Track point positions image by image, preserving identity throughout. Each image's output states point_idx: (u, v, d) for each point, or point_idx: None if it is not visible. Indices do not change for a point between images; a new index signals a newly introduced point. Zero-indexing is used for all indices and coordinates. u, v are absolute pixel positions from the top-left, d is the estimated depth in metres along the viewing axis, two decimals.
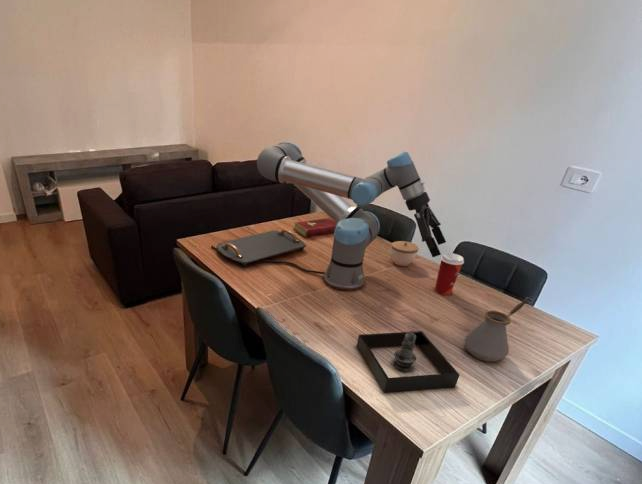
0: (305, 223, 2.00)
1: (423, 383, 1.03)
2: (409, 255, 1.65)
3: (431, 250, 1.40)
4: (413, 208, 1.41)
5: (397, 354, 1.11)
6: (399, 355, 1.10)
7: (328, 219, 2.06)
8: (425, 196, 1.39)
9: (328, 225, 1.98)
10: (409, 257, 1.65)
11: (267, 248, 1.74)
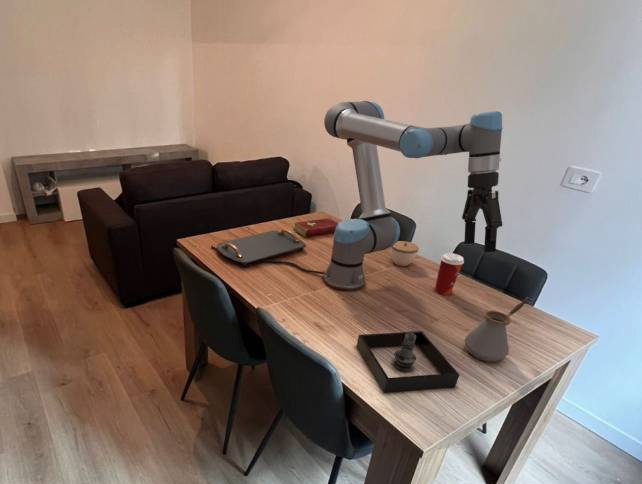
0: (305, 223, 2.00)
1: (423, 383, 1.03)
2: (409, 255, 1.65)
3: (488, 243, 1.12)
4: (483, 185, 1.11)
5: (397, 354, 1.11)
6: (399, 355, 1.10)
7: (328, 219, 2.06)
8: (498, 176, 1.12)
9: (328, 225, 1.98)
10: (409, 257, 1.65)
11: (267, 248, 1.74)
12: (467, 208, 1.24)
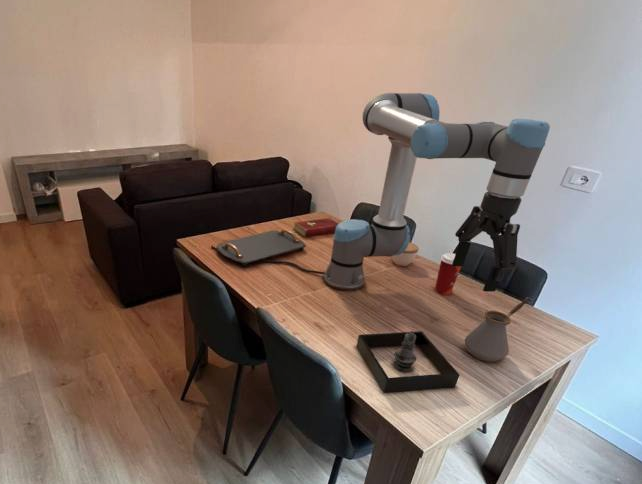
0: (305, 223, 2.00)
1: (423, 383, 1.03)
2: (409, 255, 1.65)
3: (490, 282, 0.95)
4: (503, 213, 0.91)
5: (397, 354, 1.11)
6: (399, 355, 1.10)
7: (328, 219, 2.06)
8: None
9: (328, 225, 1.98)
10: (409, 257, 1.65)
11: (267, 248, 1.74)
12: (466, 226, 1.04)
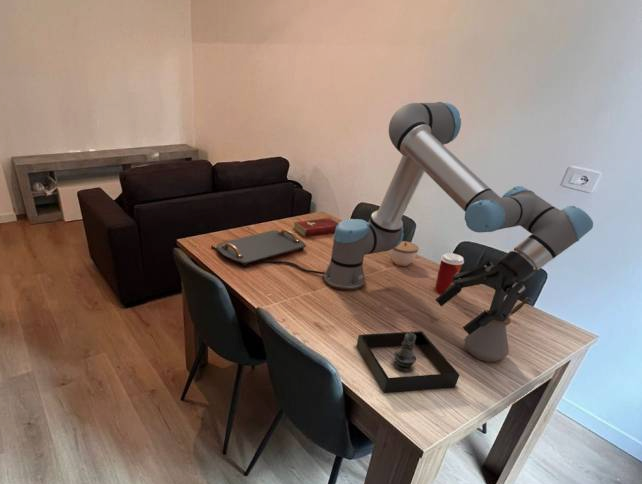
0: (304, 223, 2.00)
1: (423, 383, 1.03)
2: (409, 255, 1.65)
3: (474, 323, 0.99)
4: (519, 273, 0.97)
5: (397, 354, 1.11)
6: (399, 355, 1.10)
7: (328, 219, 2.06)
8: None
9: (327, 225, 1.98)
10: (409, 257, 1.65)
11: (267, 248, 1.74)
12: (468, 274, 1.09)
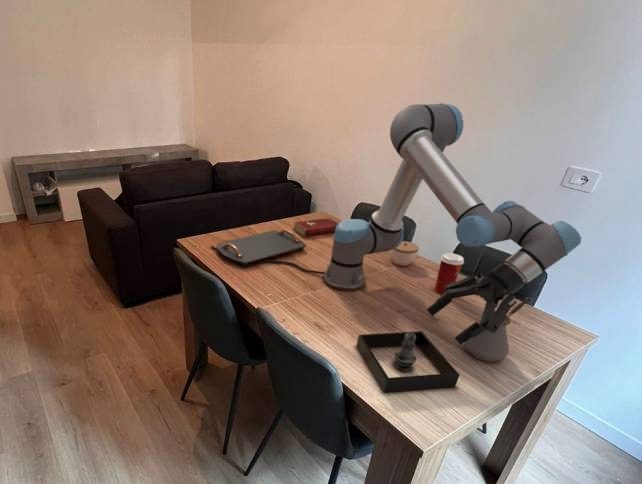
0: (304, 223, 2.00)
1: (423, 383, 1.03)
2: (409, 255, 1.65)
3: (465, 334, 1.00)
4: (509, 285, 0.99)
5: (397, 354, 1.11)
6: (399, 355, 1.10)
7: (328, 219, 2.06)
8: None
9: (327, 225, 1.98)
10: (409, 257, 1.65)
11: (267, 248, 1.74)
12: (459, 284, 1.10)
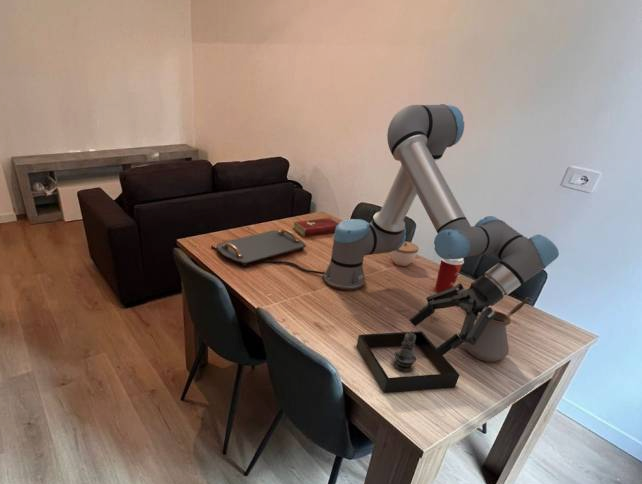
0: (304, 223, 2.00)
1: (423, 383, 1.03)
2: (409, 255, 1.65)
3: (445, 346, 1.01)
4: (489, 297, 1.00)
5: (397, 354, 1.11)
6: (399, 355, 1.10)
7: (328, 219, 2.06)
8: None
9: (327, 225, 1.98)
10: (409, 257, 1.65)
11: (267, 248, 1.74)
12: (441, 296, 1.12)
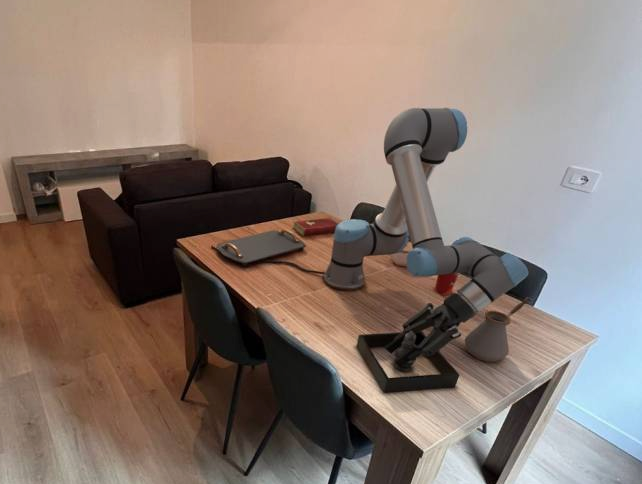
0: (304, 222, 2.01)
1: (423, 383, 1.03)
2: None
3: (404, 357, 1.07)
4: (460, 315, 1.02)
5: (397, 354, 1.11)
6: (399, 355, 1.10)
7: (328, 219, 2.06)
8: None
9: (327, 225, 1.98)
10: None
11: (267, 248, 1.74)
12: (416, 319, 1.12)
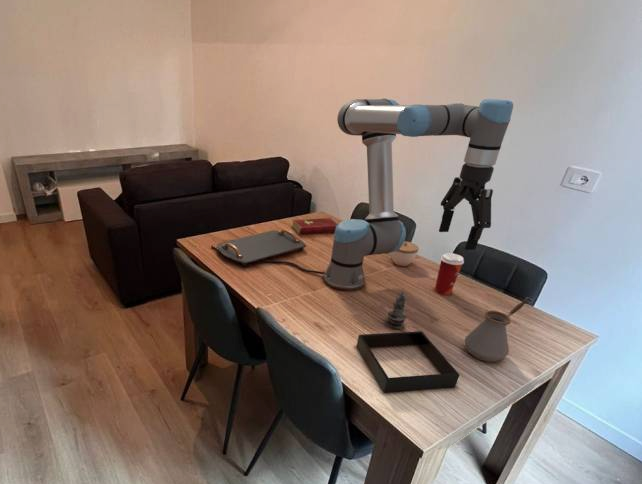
0: (302, 221, 2.02)
1: (423, 383, 1.03)
2: (409, 255, 1.65)
3: (470, 241, 1.11)
4: (478, 180, 1.06)
5: (390, 314, 1.29)
6: (391, 314, 1.28)
7: (328, 219, 2.06)
8: None
9: (324, 224, 1.99)
10: (409, 257, 1.65)
11: (267, 248, 1.74)
12: (449, 196, 1.19)
